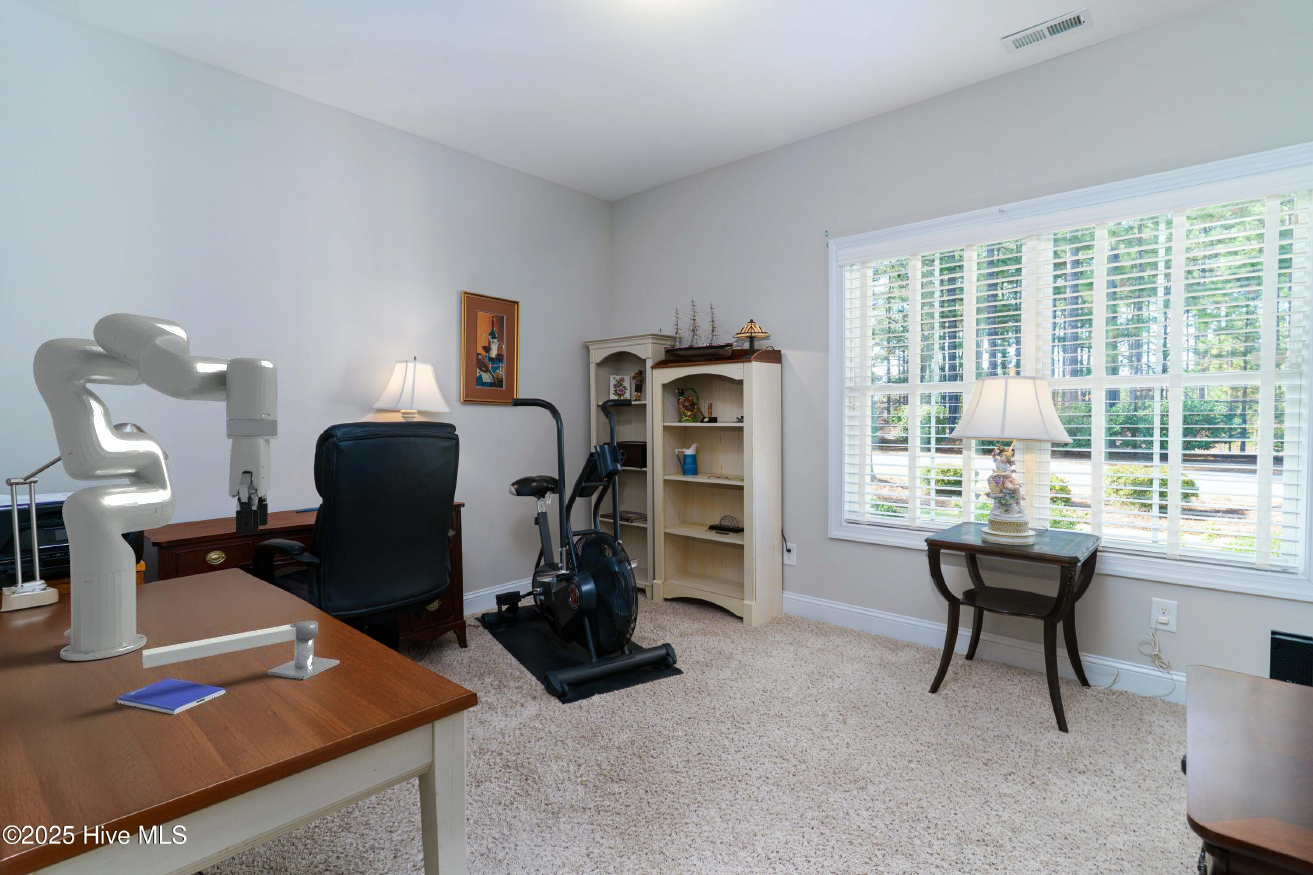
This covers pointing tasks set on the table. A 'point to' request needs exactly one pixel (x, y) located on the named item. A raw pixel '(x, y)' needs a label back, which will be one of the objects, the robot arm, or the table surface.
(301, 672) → the metal stand base
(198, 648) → the bar
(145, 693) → the hard drive
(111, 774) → the table surface
